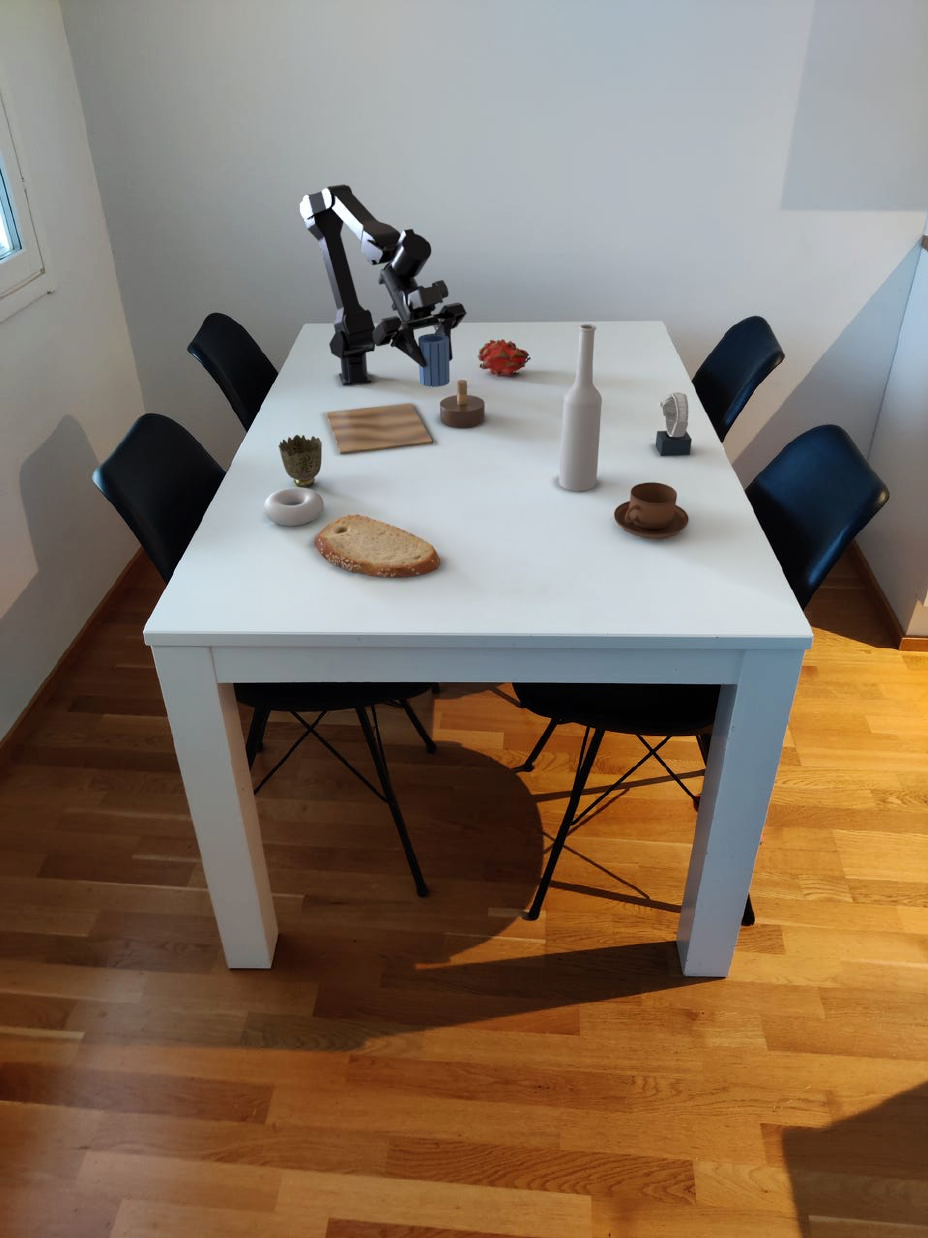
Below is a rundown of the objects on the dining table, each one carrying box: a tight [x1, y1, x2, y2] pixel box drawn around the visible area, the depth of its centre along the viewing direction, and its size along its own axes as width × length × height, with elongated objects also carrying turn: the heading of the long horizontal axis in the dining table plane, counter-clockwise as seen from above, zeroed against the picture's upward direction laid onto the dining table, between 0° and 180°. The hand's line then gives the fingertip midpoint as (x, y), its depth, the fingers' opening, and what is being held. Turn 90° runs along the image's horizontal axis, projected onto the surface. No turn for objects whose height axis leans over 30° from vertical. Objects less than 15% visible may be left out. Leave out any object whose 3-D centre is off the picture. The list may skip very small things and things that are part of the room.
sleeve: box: [417, 333, 451, 388], centre depth 181 cm, size 6×6×8 cm
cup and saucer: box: [613, 481, 689, 539], centre depth 153 cm, size 12×12×6 cm
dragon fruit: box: [477, 338, 531, 378], centre depth 211 cm, size 8×8×12 cm
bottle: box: [558, 323, 603, 493], centre depth 160 cm, size 7×7×28 cm
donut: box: [263, 486, 325, 527], centre depth 159 cm, size 10×4×10 cm
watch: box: [655, 392, 693, 457], centre depth 176 cm, size 6×8×11 cm
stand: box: [439, 379, 486, 429], centre depth 190 cm, size 9×9×8 cm
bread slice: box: [313, 513, 442, 579], centre depth 148 cm, size 18×18×4 cm
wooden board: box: [325, 402, 433, 455], centre depth 189 cm, size 20×18×1 cm
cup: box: [278, 434, 323, 488], centre depth 167 cm, size 8×7×8 cm
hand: (437, 363), depth 181 cm, fingers closed on sleeve, 6 cm apart
